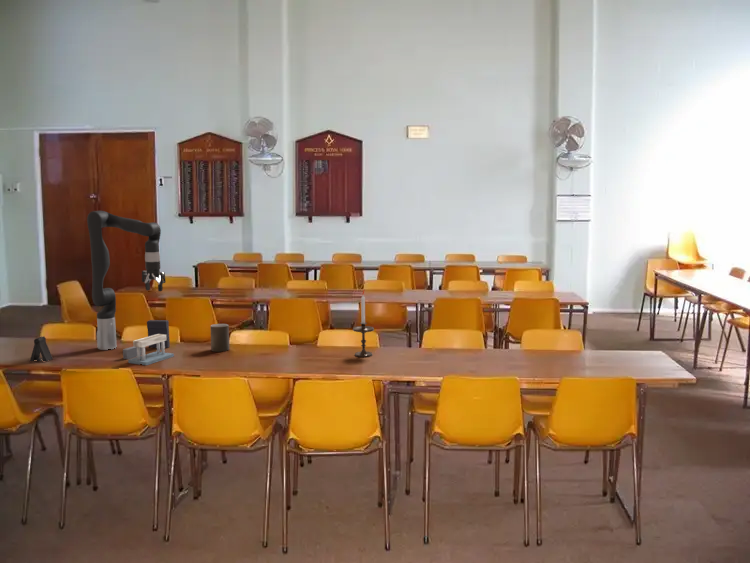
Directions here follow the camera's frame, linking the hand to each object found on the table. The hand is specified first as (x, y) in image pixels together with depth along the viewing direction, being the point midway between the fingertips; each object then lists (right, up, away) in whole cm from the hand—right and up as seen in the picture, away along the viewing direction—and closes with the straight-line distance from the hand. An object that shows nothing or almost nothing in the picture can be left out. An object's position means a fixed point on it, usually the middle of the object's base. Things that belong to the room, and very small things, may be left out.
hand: (154, 290), depth 389 cm
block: (-9, -35, -7) cm, 36 cm away
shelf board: (+2, -27, -14) cm, 30 cm away
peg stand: (+3, -35, -13) cm, 38 cm away
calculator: (-2, -32, +14) cm, 35 cm away
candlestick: (+112, -34, -7) cm, 117 cm away
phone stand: (-54, -36, -13) cm, 66 cm away
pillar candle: (+34, -32, +7) cm, 47 cm away
